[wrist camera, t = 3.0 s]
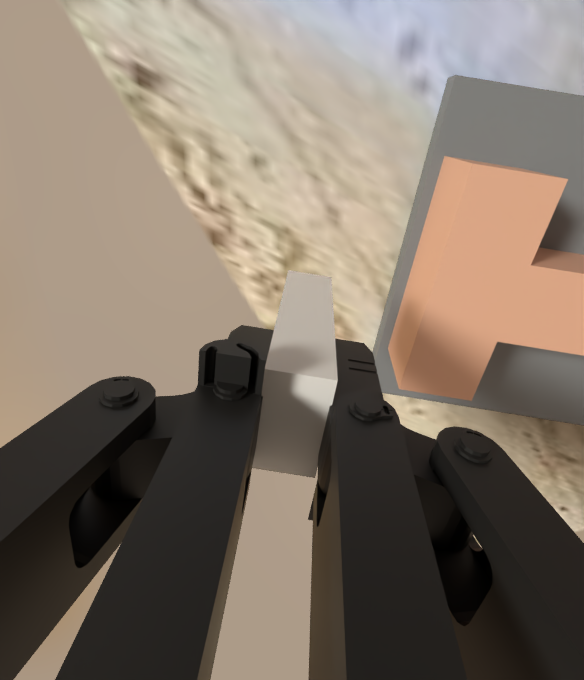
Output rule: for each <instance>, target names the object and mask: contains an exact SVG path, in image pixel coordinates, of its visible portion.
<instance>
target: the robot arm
mask: <svg viewBox="0 0 584 680" xmlns="http://www.w3.org/2000/svg"><path fill="white" fill-rule="evenodd" d="M317 467H318V480H317V484H316V488H315V493H314V497H313V501H312V505H311V510H310V514H309V518H308V519H309V520H313V542H312V578H311V580H312V581H311V613H310V614H311V615H310V652H309V680H584V543H583V542H582V541H581V540H580V538H578V536H577V535H576V534H575V533H574V531H573V530H572V529H571V528H570V527H569V526H568V525H567V523H566V522H565V521H564V520H563V519H562V518H561V516H560V515H559V514H558V513H557V512H556V511H555V509H554V508H553V507H552V506H551V505H550V504H549V502H548V501H547V500H546V499H545V498H544V497H543V496H542V494H541V493H540V492H539V491H538V490H537V489H536V487H535V486H534V485H533V484H532V483H531V482H530V480H529V479H528V478H527V477H526V476H525V475H524V473H523V472H522V471H521V470H520V469H519V468H518V467H517V465H516V464H515V463H514V462H513V461H512V460H511V458H510V457H509V456H508V455H507V454H506V453H505V451H504V450H503V449H502V448H501V447H500V446H498V445H497V444H496V443H495V442H494V441H493V440H491V439H490V438H488V437H486V436H485V435H483V434H481V433H479V432H477V431H474V430H471V429H468V428H462V427H449V428H445V429H443V430H442V431H441V432H439V434H438V436H437V439H436V440H435V439H432V438H430V437H427V436H424V435H422V434H419V433H416V432H414V431H412V430H410V429H407V428H406V427H404V426H402V425H401V424H400V420H399V417H398V415H397V413H396V411H395V409H394V408H393V407H392V406H391V405H390V404H389V403H387V402H386V401H384V400H383V395H382V391H381V386H380V382H379V378H378V374H377V369H376V365H375V360H374V356H373V353H372V352H371V351H370V349H369V348H368V347H367V346H366V345H365V344H364V343H359V342H353V341H346V340H340V339H335V328H334V311H333V295H332V279H331V277H328V276H322V275H315V274H309V273H303V272H297V271H290V270H288V274H287V278H286V283H285V287H284V291H283V295H282V299H281V303H280V307H279V311H278V316H277V320H276V324H275V328H274V330H269V329H263V328H257V327H250V326H243V325H241V326H240V327H238V328H236V329H235V330H233V331H232V332H231V333H230V335H229V337H228V339H225V340H217V341H213V342H211V343H208V344H206V345H204V346H203V347H202V348H201V349H200V351H199V372H198V386H197V388H196V390H195V391H194V392H191V393H188V394H184V395H176V396H159V397H155V389H154V388H153V386H152V385H151V384H150V383H149V382H146V381H144V380H143V379H140V378H135V377H129V376H127V377H124V376H123V377H112V378H109V379H105V380H101V381H99V382H97V383H95V384H93V385H91V386H89V387H88V388H86V389H85V390H83V391H82V392H80V393H79V394H78V395H76V396H75V397H73V398H72V399H70V400H69V401H67V402H66V403H65V404H63V405H62V406H60V407H59V408H57V409H56V410H54V411H53V412H52V413H50V414H49V415H47V416H46V417H44V418H43V419H42V420H40V421H39V422H37V423H36V424H34V425H33V426H31V427H30V428H29V429H27V430H26V431H24V432H23V433H21V434H20V435H19V436H17V437H16V438H14V439H13V440H11V441H10V442H8V443H7V444H6V445H4V446H3V447H2V448H0V680H13V679H14V678H15V677H16V676H17V674H18V673H19V672H20V670H21V669H22V668H23V667H24V665H25V664H26V663H27V661H28V660H29V659H30V658H31V656H32V655H33V654H34V652H35V651H36V650H37V649H38V648H39V646H40V645H41V644H42V642H43V641H44V640H45V639H46V637H47V636H48V635H49V634H50V632H51V631H52V630H53V629H54V627H55V626H56V625H57V623H58V622H59V621H60V620H61V618H62V617H63V616H64V615H65V613H66V612H67V611H68V609H69V608H70V607H71V606H72V604H73V603H74V602H75V601H76V599H77V598H78V597H79V596H80V594H81V593H82V592H83V590H84V589H85V588H86V587H87V585H88V584H89V583H90V582H91V580H92V579H93V578H94V576H95V575H96V574H97V573H98V571H99V570H100V569H101V568H102V566H103V565H104V564H105V563H106V561H107V560H108V559H109V558H110V556H111V555H112V554H113V552H114V551H115V550H116V549H117V547H118V546H119V544H121V545H120V547H119V549H118V551H117V553H116V555H115V557H114V559H113V562H112V564H111V565H110V568H109V570H108V572H107V574H106V576H105V578H104V580H103V582H102V584H101V586H100V588H99V590H98V592H97V594H96V596H95V598H94V601H93V603H92V605H91V607H90V609H89V611H88V613H87V615H86V617H85V619H84V621H83V623H82V625H81V627H80V630H79V632H78V634H77V636H76V638H75V640H74V642H73V644H72V646H71V648H70V650H69V652H68V654H67V656H66V658H65V660H64V663H63V665H62V667H61V669H60V671H59V673H58V675H57V677H56V679H55V680H210V678H211V673H212V668H213V663H214V658H215V653H216V648H217V643H218V638H219V633H220V628H221V623H222V619H223V614H224V608H225V604H226V599H227V594H228V589H229V584H230V579H231V574H232V568H233V564H234V559H235V554H236V549H237V544H238V539H239V534H240V529H241V524H242V519H243V515H244V510H245V505H246V500H247V495H248V490H249V484H250V476H251V469H252V468H256V469H262V470H269V471H275V472H281V473H288V474H294V475H300V476H307V477H313V478H315V475H316V471H317ZM473 534H474V535H475V537H476V539H477V540H478V542H479V543H480V545H481V547H482V548H483V549H482V548H481V547H480V546H479V544H478V543H477V542H476V540H475V538H474V537H473ZM121 542H122V543H121Z"/></svg>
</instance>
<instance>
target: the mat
mask: <svg viewBox="0 0 584 680" xmlns="http://www.w3.org/2000/svg"><path fill="white" fill-rule="evenodd" d="M444 156H448V157H454V158H460V159H467V160H473V161H479V162H485V163H491V164H497V165H503V166H509V167H516V168H522V169H526V170H530V171H535V172H539V173H544V174H548V175H552V176H557V177H561V178H565V179H568V181H567V183H566V186H565V188H564V190H563V193H562V195H561V197H560V199H559V202H558V204H557V206H556V209H555V211H554V213H553V215H552V218H551V220H550V222H549V225H548V227H547V229H546V232H545V234H544V236H543V238H542V241H541V243H540V245H539V248H546V249H552V250H558V251H564V252H570V253H576V254H582V255H584V96H580V95H574V94H568V93H562V92H556V91H549V90H543V89H537V88H531V87H525V86H519V85H513V84H507V83H501V82H494V81H488V80H482V79H476V78H470V77H464V76H458V75H455V76H452V77H449V78H448V80H447V83H446V87H445V91H444V94H443V98H442V102H441V105H440V109H439V113H438V116H437V120H436V123H435V127H434V131H433V134H432V138H431V142H430V145H429V149H428V153H427V156H426V160H425V163H424V167H423V171H422V174H421V178H420V182H419V185H418V189H417V193H416V196H415V200H414V203H413V207H412V211H411V214H410V218H409V222H408V225H407V229H406V233H405V236H404V240H403V244H402V247H401V251H400V254H399V258H398V262H397V265H396V269H395V273H394V276H393V280H392V284H391V287H390V291H389V294H388V298H387V302H386V305H385V309H384V313H383V316H382V320H381V324H380V327H379V331H378V334H377V338H376V342H375V345H374V349H373V356H374V360H375V365H376V369H377V374H378V378H379V382H380V386H381V391H382V393H387V394H393V395H399V396H405V397H411V398H417V399H424V400H430V401H436V402H442V403H448V404H454V405H461V406H467V407H473V408H479V409H485V410H491V411H498V412H504V413H510V414H516V415H522V416H528V417H535V418H541V419H547V420H553V421H559V422H565V423H572V424H578V425H584V356H583V355H577V354H570V353H564V352H558V351H552V350H546V349H540V348H534V347H527V346H521V345H515V344H509V343H503V342H497V344H496V346H495V348H494V351H493V353H492V355H491V357H490V360H489V362H488V364H487V367H486V369H485V371H484V373H483V376H482V378H481V380H480V383H479V385H478V387H477V389H476V392H475V394H474V396H473V399H472V401H469V400H463V399H457V398H451V397H445V396H438V395H432V394H426V393H420V392H414V391H408V390H401V389H399V387H398V384H397V380H396V376H395V373H394V369H393V365H392V362H391V358H390V354H389V351H388V346H389V343H390V339H391V336H392V333H393V329H394V326H395V322H396V319H397V316H398V312H399V309H400V305H401V302H402V299H403V295H404V292H405V288H406V285H407V282H408V278H409V275H410V271H411V268H412V265H413V261H414V258H415V254H416V251H417V248H418V244H419V241H420V237H421V234H422V231H423V227H424V224H425V220H426V217H427V213H428V210H429V207H430V203H431V200H432V196H433V193H434V190H435V186H436V183H437V179H438V176H439V173H440V169H441V166H442V162H443V159H444Z"/></svg>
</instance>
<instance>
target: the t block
mask: <svg viewBox="0 0 584 680" xmlns="http://www.w3.org/2000/svg"><path fill="white" fill-rule="evenodd" d="M567 181H568V179H565V178H561V177H557V176H552V175H548V174H544V173H539V172H535V171H530V170H526V169H522V168H516V167H509V166H503V165H497V164H491V163H485V162H479V161H473V160H467V159H460V158H454V157H448V156H444V159H443V162H442V166H441V169H440V173H439V176H438V179H437V183H436V186H435V190H434V193H433V196H432V200H431V203H430V207H429V210H428V213H427V217H426V220H425V224H424V227H423V231H422V234H421V237H420V241H419V244H418V248H417V251H416V254H415V258H414V261H413V265H412V268H411V271H410V275H409V278H408V282H407V285H406V288H405V292H404V295H403V299H402V302H401V305H400V309H399V312H398V316H397V319H396V322H395V326H394V329H393V333H392V336H391V339H390V343H389V346H388V351H389V354H390V358H391V362H392V365H393V369H394V373H395V376H396V380H397V384H398V387H399V389H401V390H408V391H414V392H420V393H426V394H432V395H438V396H445V397H451V398H457V399H463V400H469V401H472V399H473V396H474V394H475V392H476V389H477V387H478V385H479V383H480V380H481V378H482V376H483V373H484V371H485V369H486V367H487V364H488V362H489V360H490V357H491V355H492V353H493V351H494V348H495V346H496V344H497V342H503V343H509V344H515V345H521V346H527V347H534V348H540V349H546V350H552V351H558V352H564V353H570V354H577V355H583V356H584V255H582V254H576V253H570V252H564V251H558V250H552V249H546V248H539V245H540V243H541V241H542V238H543V236H544V234H545V232H546V229H547V227H548V225H549V222H550V220H551V218H552V215H553V213H554V211H555V209H556V206H557V204H558V202H559V199H560V197H561V195H562V193H563V190H564V188H565V186H566V183H567Z"/></svg>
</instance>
